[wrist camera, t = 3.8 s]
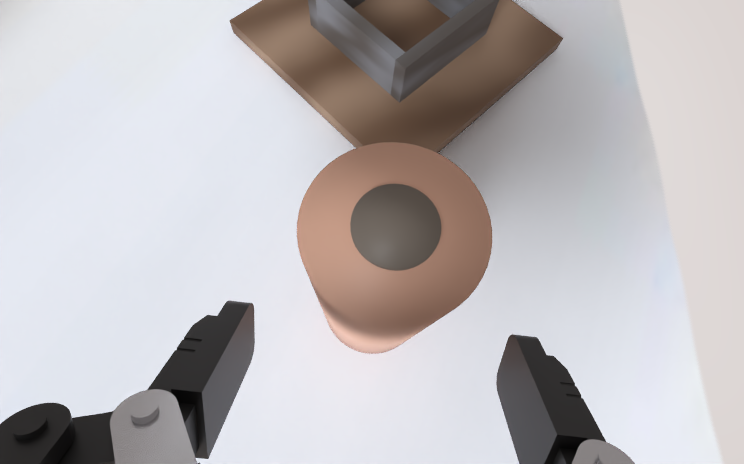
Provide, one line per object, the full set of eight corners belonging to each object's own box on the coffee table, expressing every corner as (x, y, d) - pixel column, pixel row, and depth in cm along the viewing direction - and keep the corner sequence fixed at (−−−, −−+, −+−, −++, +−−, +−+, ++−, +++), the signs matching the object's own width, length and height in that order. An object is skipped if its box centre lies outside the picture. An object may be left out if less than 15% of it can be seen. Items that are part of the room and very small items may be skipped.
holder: (233, 32, 28) (215, -22, 24) (396, -71, 32) (402, -130, 28) (398, 187, 24) (406, 152, 21) (556, 49, 29) (586, 0, 25)
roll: (304, 302, 22) (254, 220, 10) (373, 239, 23) (395, 107, 12) (371, 375, 21) (396, 373, 9) (439, 305, 22) (533, 229, 11)
